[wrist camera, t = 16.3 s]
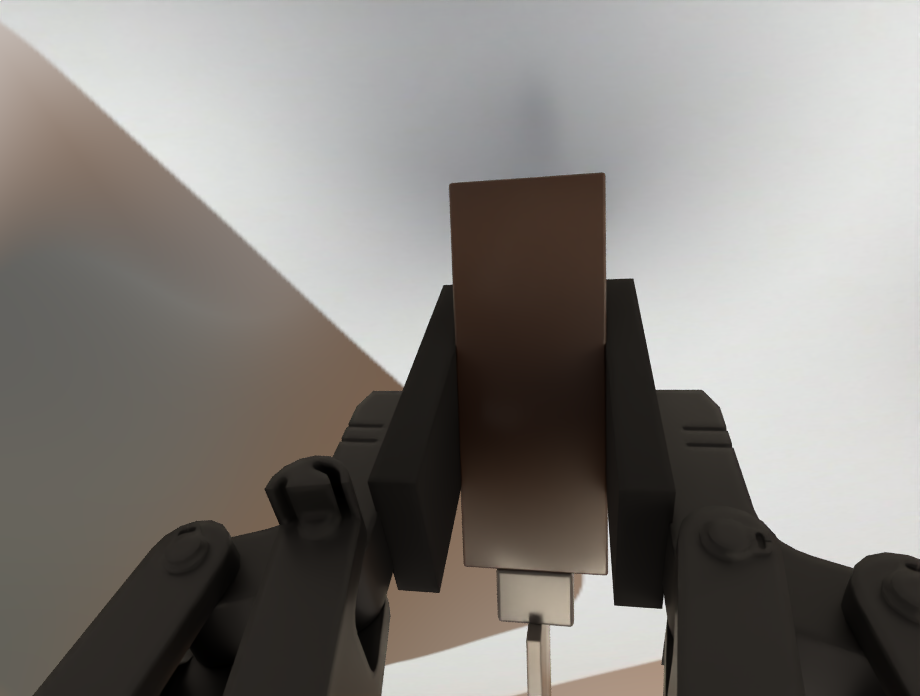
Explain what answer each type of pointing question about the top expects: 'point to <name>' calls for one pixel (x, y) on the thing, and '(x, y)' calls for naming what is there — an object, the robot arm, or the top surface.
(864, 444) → the top surface
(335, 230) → the top surface
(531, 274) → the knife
